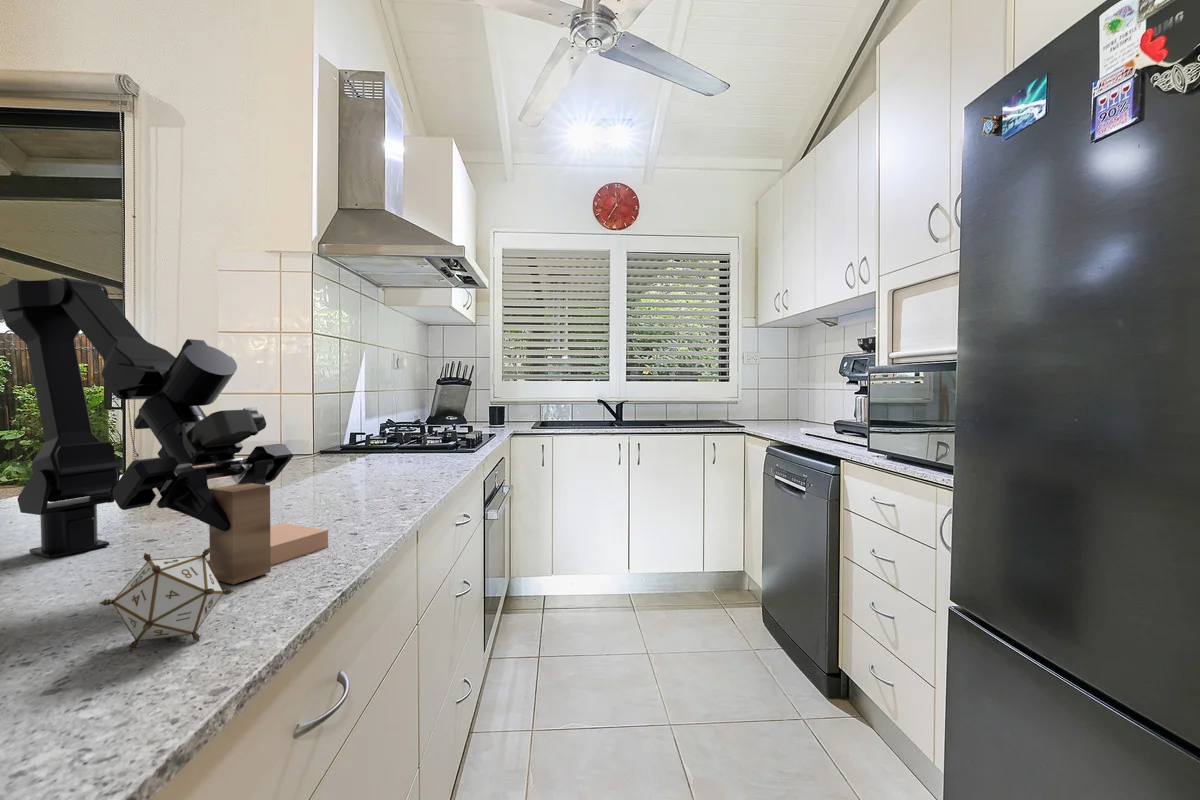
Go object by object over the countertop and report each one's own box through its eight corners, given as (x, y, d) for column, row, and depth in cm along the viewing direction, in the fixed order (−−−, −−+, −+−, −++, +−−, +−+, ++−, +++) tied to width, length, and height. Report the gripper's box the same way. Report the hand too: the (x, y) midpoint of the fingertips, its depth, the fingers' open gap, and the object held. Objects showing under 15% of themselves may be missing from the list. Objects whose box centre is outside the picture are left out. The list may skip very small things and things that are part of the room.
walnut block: (209, 578, 63) (209, 488, 63) (247, 566, 67) (247, 482, 67) (233, 584, 61) (232, 491, 61) (270, 572, 65) (270, 485, 65)
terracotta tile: (213, 558, 71) (212, 540, 71) (282, 538, 81) (282, 522, 80) (260, 568, 67) (260, 549, 67) (328, 546, 77) (328, 530, 76)
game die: (174, 686, 47) (137, 630, 41) (105, 645, 49) (59, 585, 43) (259, 606, 54) (238, 547, 48) (196, 572, 56) (168, 511, 50)
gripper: (127, 387, 56) (200, 495, 53) (282, 387, 74) (344, 468, 70) (83, 455, 59) (149, 563, 56) (243, 440, 76) (300, 520, 73)
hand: (248, 523), depth 64 cm, fingers closed on walnut block, 5 cm apart
